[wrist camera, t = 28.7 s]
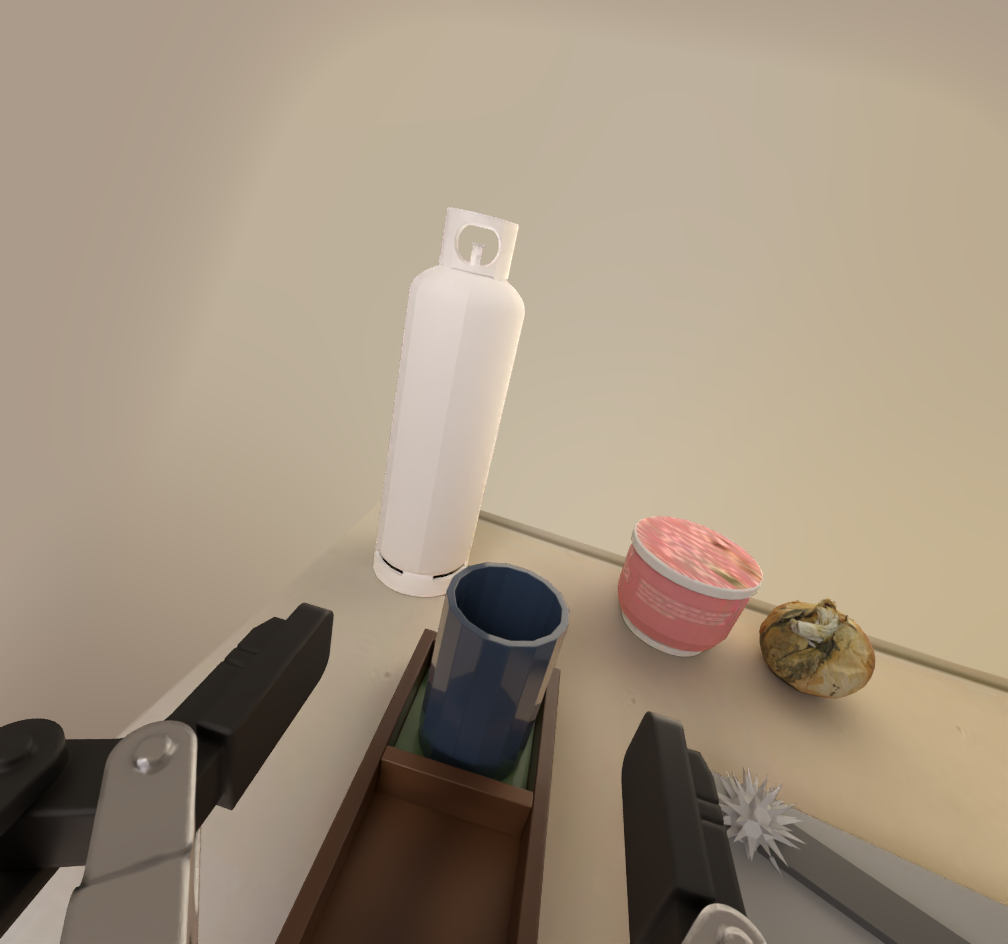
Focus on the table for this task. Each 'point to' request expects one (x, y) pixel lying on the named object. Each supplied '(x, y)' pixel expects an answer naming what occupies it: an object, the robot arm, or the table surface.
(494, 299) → the bottle
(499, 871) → the holder
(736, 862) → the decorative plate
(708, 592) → the container
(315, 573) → the table surface
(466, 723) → the cup
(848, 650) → the onion
